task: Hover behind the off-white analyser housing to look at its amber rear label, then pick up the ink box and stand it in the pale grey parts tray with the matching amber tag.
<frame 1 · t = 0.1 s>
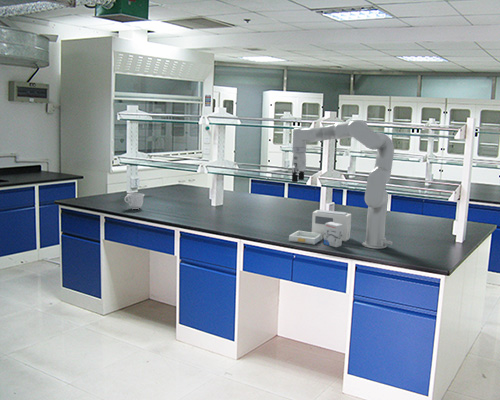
hand: (298, 180, 292), 31 cm above the countertop, tool pointing down, fingers open, 9 cm apart
ink box: (332, 245, 277), on the countertop
analyser housing: (330, 237, 294), on the countertop
teacup: (134, 209, 359), on the countertop
parts tray: (305, 240, 286), on the countertop
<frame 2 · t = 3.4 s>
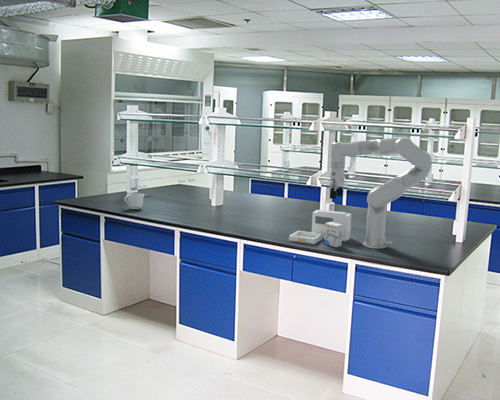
hand: (336, 197, 280), 25 cm above the countertop, tool pointing down, fingers open, 9 cm apart
nothing on the countertop moved.
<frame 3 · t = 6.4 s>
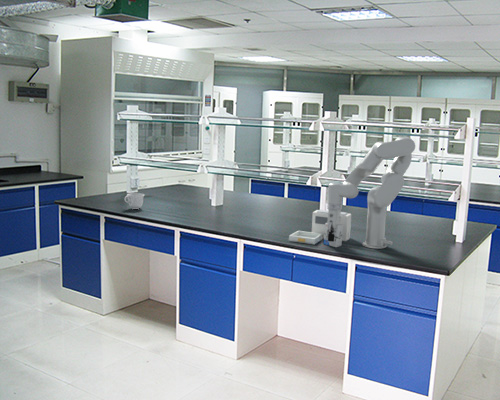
hand: (332, 239, 277), 3 cm above the countertop, tool pointing down, fingers closed on ink box, 6 cm apart
ink box: (332, 245, 277), on the countertop, touching gripper
everything else where it was.
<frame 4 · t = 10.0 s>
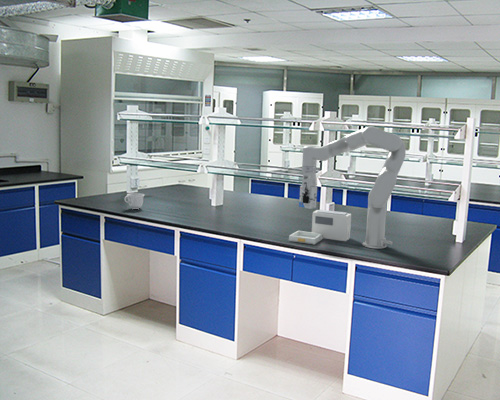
hand: (307, 201, 283), 21 cm above the countertop, tool pointing down, fingers closed on ink box, 6 cm apart
ink box: (307, 207, 283), point 18 cm above the countertop, touching gripper
everything else where it was.
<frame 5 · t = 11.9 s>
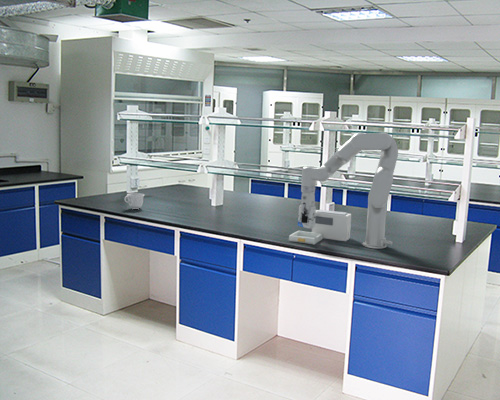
hand: (306, 221, 285), 10 cm above the countertop, tool pointing down, fingers closed on ink box, 6 cm apart
ink box: (306, 227, 285), point 7 cm above the countertop, touching gripper
everything else where it was.
when the fingers open (5 cm above the countertop, at t = 13.5 s): ink box drops 1 cm, resting on parts tray.
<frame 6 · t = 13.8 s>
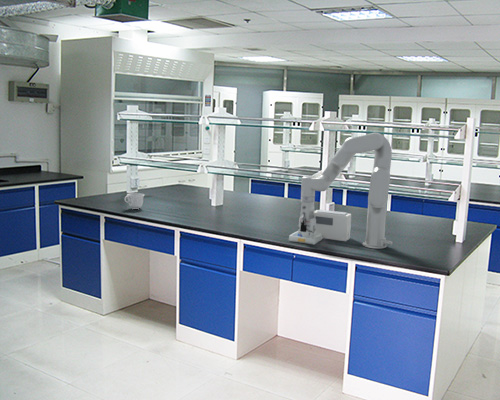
hand: (306, 229, 285), 6 cm above the countertop, tool pointing down, fingers open, 9 cm apart
ink box: (306, 239, 287), resting on parts tray
everything else where it was.
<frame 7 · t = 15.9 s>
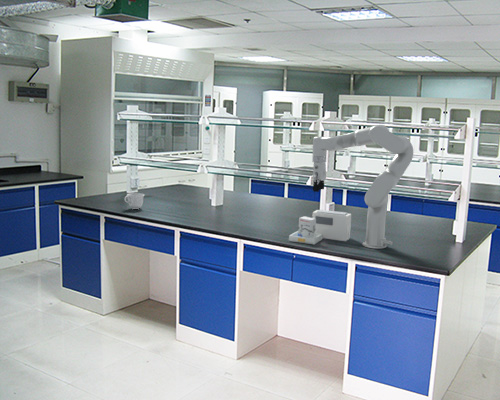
hand: (318, 190, 287), 27 cm above the countertop, tool pointing down, fingers open, 9 cm apart
nothing on the countertop moved.
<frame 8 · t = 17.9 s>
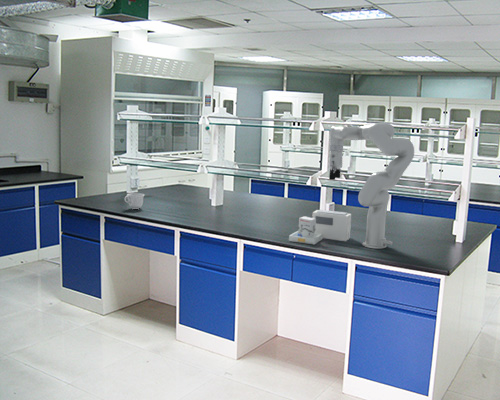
hand: (334, 178, 296), 32 cm above the countertop, tool pointing down, fingers open, 9 cm apart
nothing on the countertop moved.
at the end: ink box 0.3 cm off-centre on the parts tray, point 0.4 cm above the parts tray's base; ink box tilted 0°; the gripper is holding nothing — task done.
